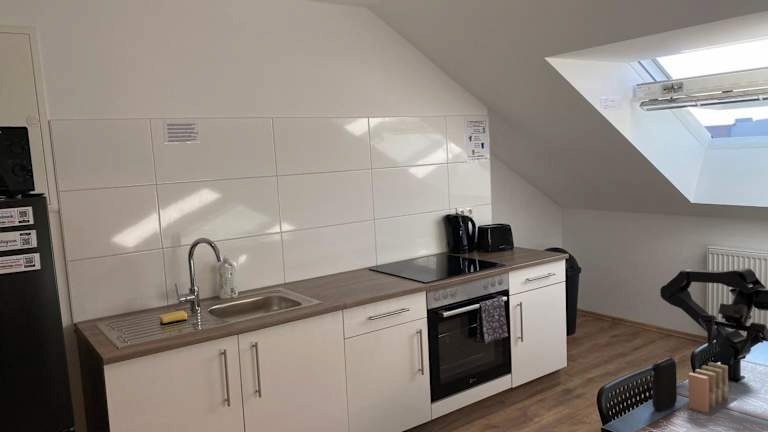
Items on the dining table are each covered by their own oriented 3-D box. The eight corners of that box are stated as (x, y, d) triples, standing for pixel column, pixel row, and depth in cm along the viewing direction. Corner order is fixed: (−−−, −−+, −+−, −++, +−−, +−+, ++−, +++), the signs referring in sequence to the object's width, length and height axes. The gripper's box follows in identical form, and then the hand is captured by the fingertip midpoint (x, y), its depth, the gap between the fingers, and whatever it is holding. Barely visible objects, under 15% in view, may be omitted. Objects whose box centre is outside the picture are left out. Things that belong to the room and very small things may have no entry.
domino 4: (710, 393, 181) (710, 362, 180) (728, 398, 177) (727, 366, 176) (708, 395, 180) (707, 363, 179) (725, 400, 176) (725, 367, 175)
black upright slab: (657, 416, 169) (656, 366, 168) (647, 412, 172) (646, 363, 170) (679, 406, 175) (678, 357, 173) (669, 402, 177) (668, 354, 176)
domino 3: (704, 397, 178) (703, 365, 177) (721, 402, 174) (721, 369, 173) (701, 399, 177) (701, 366, 176) (719, 404, 173) (719, 371, 172)
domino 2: (697, 401, 176) (697, 368, 175) (715, 406, 172) (715, 373, 171) (695, 403, 175) (694, 370, 174) (713, 408, 171) (712, 374, 170)
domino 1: (691, 405, 174) (690, 372, 173) (709, 410, 170) (708, 376, 169) (688, 407, 173) (688, 374, 172) (706, 412, 169) (706, 378, 168)
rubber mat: (706, 391, 183) (706, 390, 183) (737, 400, 176) (737, 398, 176) (678, 408, 173) (678, 407, 173) (711, 418, 166) (711, 416, 166)
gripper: (701, 288, 188) (683, 330, 183) (766, 298, 173) (749, 343, 168) (713, 307, 194) (696, 348, 189) (778, 318, 179) (761, 363, 174)
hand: (724, 350), depth 180 cm, fingers open, 9 cm apart
